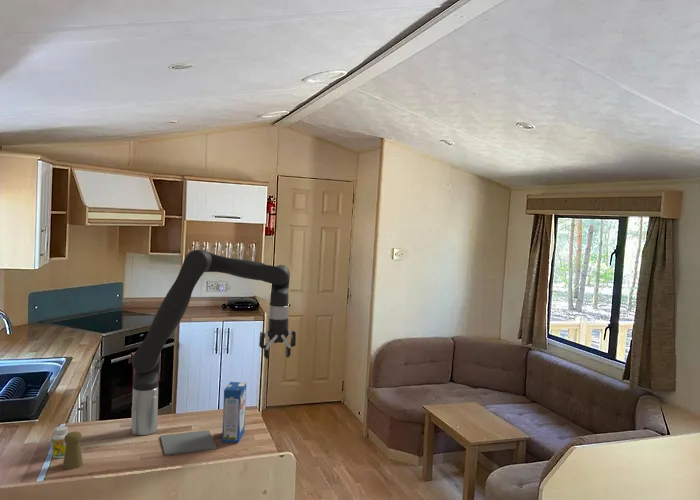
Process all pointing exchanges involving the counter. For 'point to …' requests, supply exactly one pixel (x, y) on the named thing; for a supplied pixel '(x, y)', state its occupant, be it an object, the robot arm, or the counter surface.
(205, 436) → the mat
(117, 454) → the counter surface
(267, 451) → the counter surface
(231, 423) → the milk carton
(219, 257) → the robot arm
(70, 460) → the cork
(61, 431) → the supplement bottle
